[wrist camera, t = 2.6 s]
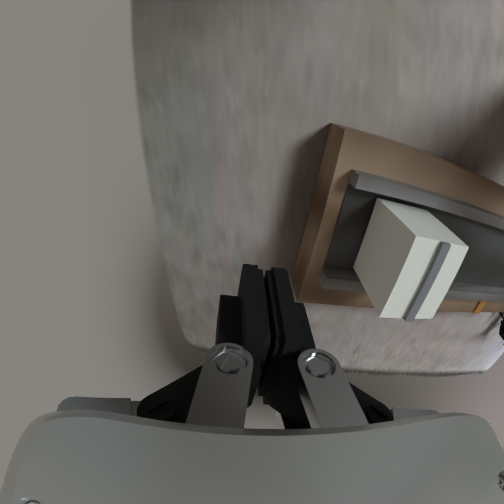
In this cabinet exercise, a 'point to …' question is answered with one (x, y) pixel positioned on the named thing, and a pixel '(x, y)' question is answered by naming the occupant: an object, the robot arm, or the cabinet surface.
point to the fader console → (405, 192)
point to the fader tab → (407, 261)
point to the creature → (502, 327)
